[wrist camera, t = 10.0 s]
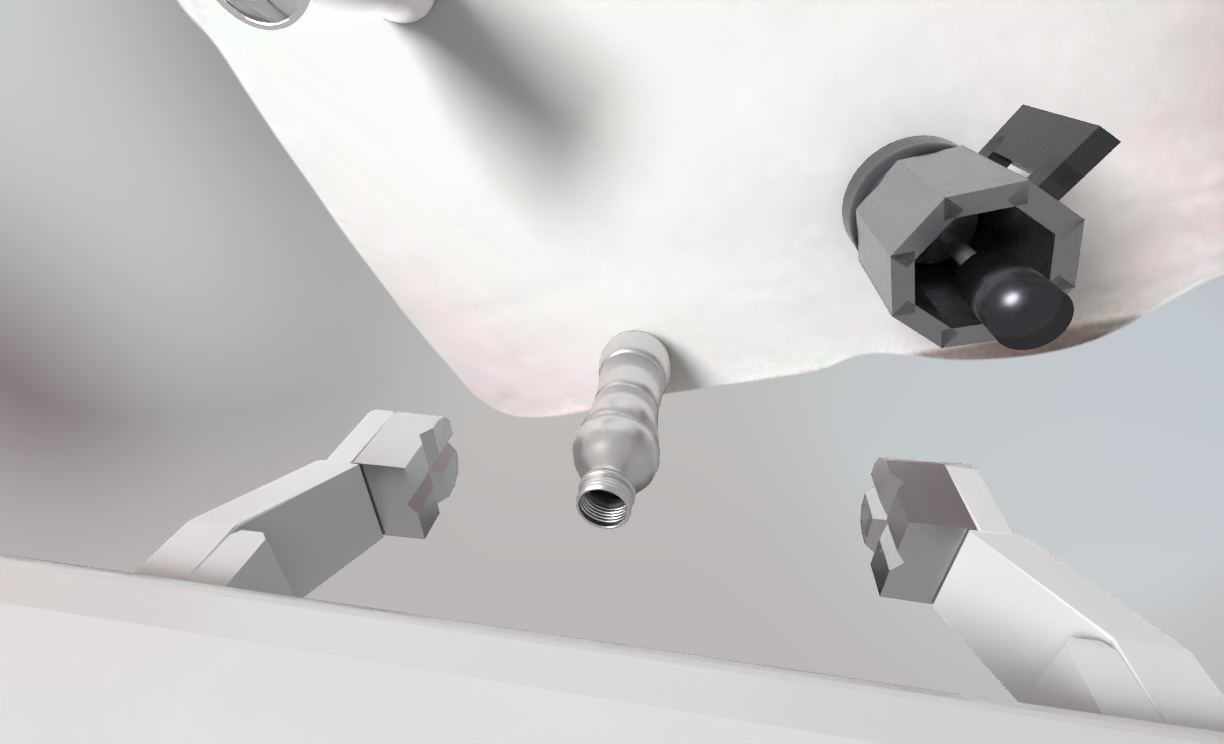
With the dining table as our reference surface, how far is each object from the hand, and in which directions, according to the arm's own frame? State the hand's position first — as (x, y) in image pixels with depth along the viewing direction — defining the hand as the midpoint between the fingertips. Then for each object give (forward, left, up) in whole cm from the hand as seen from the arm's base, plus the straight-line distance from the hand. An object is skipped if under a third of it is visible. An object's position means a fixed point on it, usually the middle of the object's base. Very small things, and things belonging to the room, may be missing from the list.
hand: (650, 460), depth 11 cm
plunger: (-4, +16, -31) cm, 35 cm away
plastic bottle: (+19, +6, -37) cm, 42 cm away
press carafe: (-6, +16, -37) cm, 41 cm away
